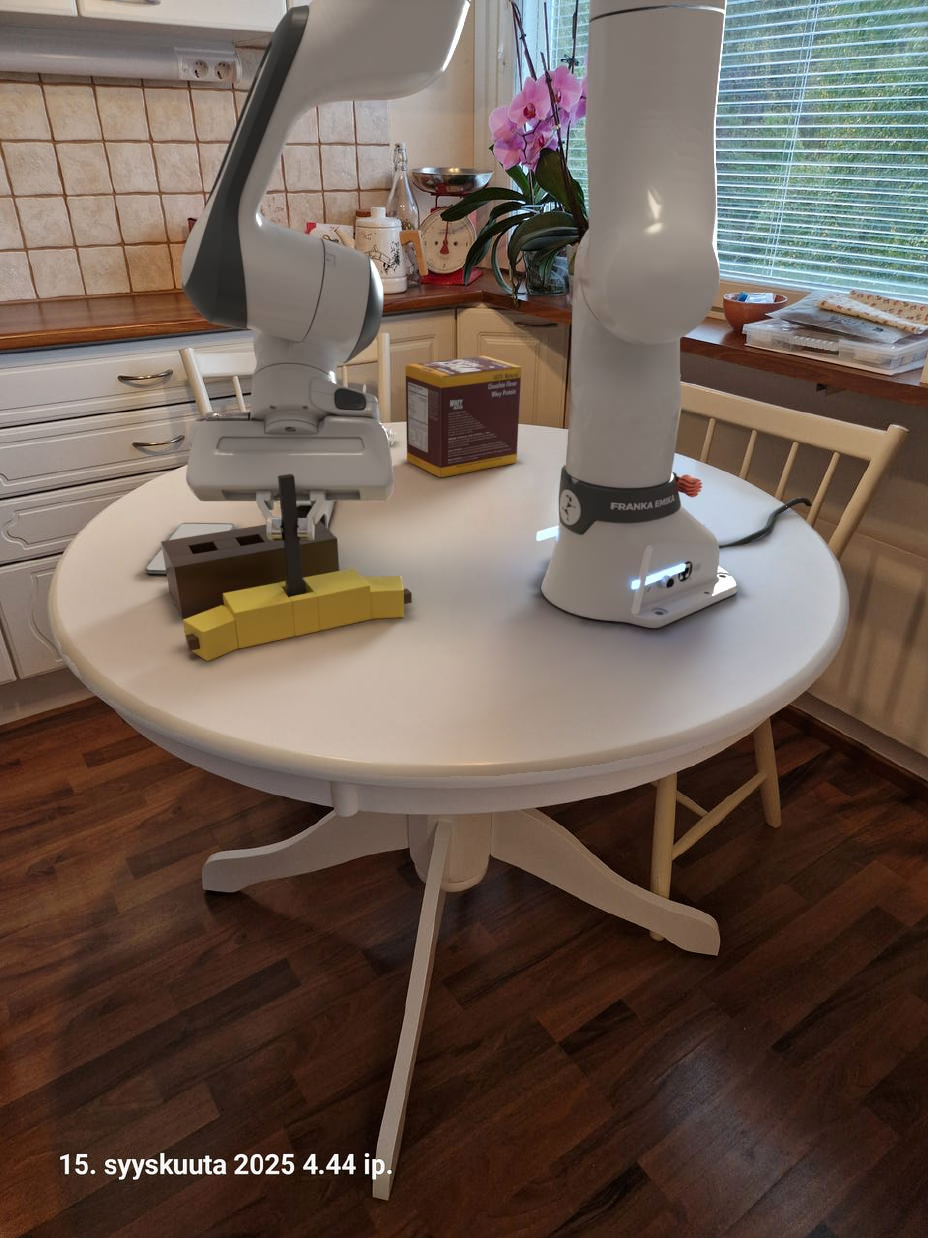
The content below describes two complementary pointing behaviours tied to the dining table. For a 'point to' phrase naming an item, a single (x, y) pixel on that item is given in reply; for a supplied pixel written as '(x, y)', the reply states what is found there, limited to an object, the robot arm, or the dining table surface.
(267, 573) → the cutlery block
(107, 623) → the dining table surface
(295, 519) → the dark grey stepped rod
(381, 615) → the banana
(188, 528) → the smartphone
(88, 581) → the dining table surface
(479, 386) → the supplement box
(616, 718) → the dining table surface
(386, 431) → the white bird figurine
